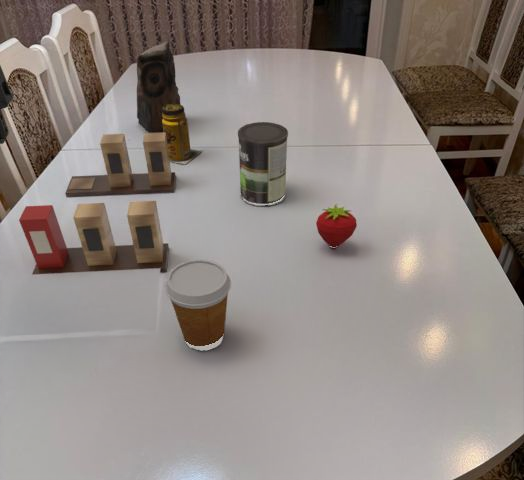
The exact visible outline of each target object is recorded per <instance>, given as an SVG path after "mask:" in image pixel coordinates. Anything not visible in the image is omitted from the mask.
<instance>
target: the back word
mask: <svg viewBox="0 0 524 480" xmlns="http://www.w3.org/2000/svg"><path fill="white" fill-rule="evenodd" d="M125 135H126V134H125V133H111V134H102V137H101V139H100V142H99V145H100V150H101V154H102V158H103V161H104V162H103V163H104V165H105V171H106V174H98V175H97V174H95V175H72V176H71V179H70V180H69V183H68V185H67V188H66V191H65V197H66V198H74V197H75V198H76V197H97V196H98V197H99V196H100V197H101V196H121V195H124V196H125V195H144V194H145V195H146V194H147V195H149V194H172V193H175V187H176V177H177V176H176V175H177V174H176V171H172V166H171V162H170V159H169V152H168V145H167V138H166V132H162V133H149V132H144V134H143V140H142V145H143V150H144V158H145V162H146V168H147V172H146V173H145V172H144V173H133V171H132V166H131V161H130V156H129V155H130V154H129V150H128V146H127V141H126V136H125Z"/></svg>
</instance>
